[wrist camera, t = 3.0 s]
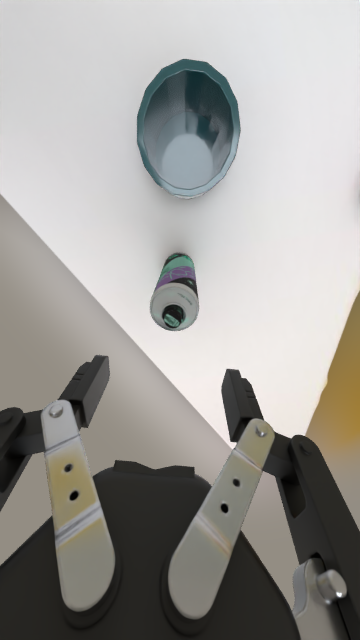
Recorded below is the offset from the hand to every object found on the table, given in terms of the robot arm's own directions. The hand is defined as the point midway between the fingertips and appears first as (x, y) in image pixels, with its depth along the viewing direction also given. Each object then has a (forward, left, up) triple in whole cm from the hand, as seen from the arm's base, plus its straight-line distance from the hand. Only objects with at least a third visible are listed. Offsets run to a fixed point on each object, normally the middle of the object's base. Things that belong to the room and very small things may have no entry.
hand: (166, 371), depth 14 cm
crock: (-6, +15, -27) cm, 31 cm away
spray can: (0, 0, -27) cm, 27 cm away
